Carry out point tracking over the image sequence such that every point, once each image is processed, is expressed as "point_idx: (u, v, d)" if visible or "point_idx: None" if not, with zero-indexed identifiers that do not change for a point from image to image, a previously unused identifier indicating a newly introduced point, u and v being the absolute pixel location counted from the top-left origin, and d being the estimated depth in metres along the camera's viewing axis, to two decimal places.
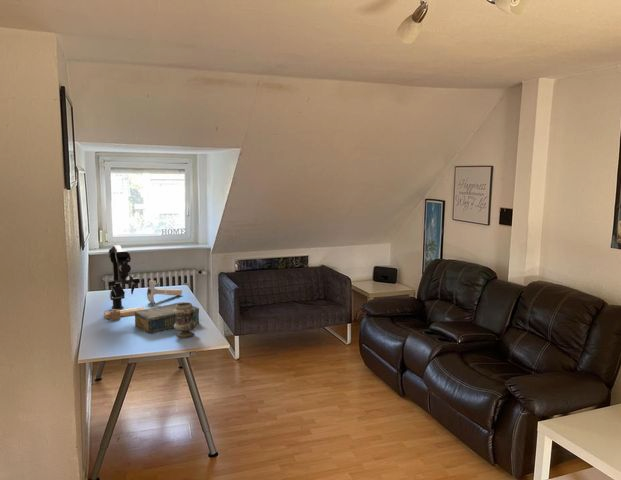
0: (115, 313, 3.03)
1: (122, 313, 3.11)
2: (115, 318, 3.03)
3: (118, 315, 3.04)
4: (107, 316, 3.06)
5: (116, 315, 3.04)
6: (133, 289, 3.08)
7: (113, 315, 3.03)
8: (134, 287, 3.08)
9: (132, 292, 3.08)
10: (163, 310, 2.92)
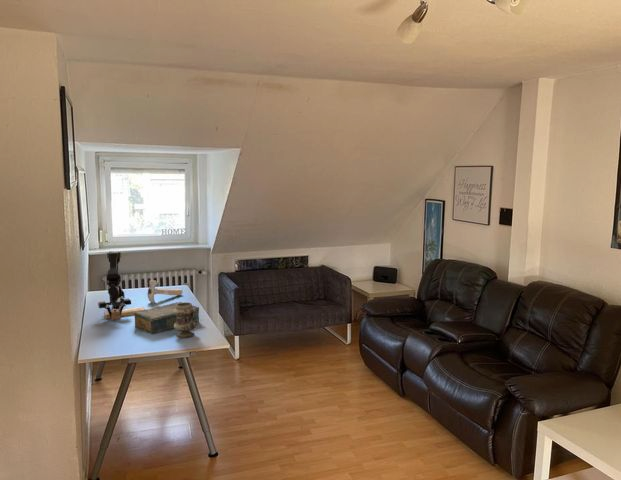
0: (115, 313, 3.03)
1: (122, 313, 3.11)
2: (115, 318, 3.03)
3: (118, 315, 3.04)
4: (107, 316, 3.06)
5: (116, 315, 3.04)
6: (121, 311, 3.06)
7: (113, 315, 3.03)
8: (122, 309, 3.06)
9: (120, 314, 3.06)
10: (163, 310, 2.92)
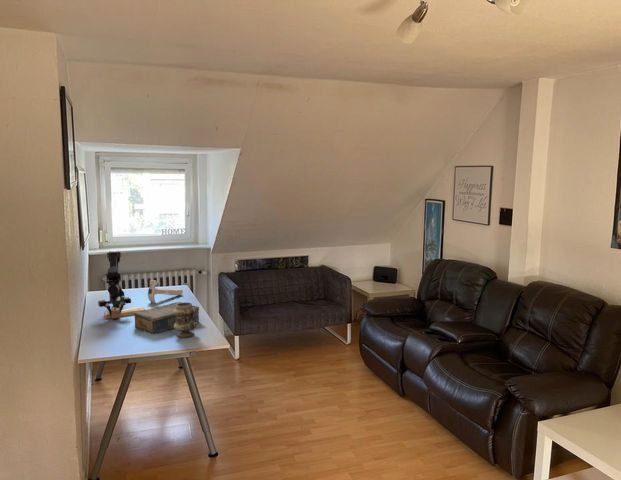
0: (115, 311, 3.03)
1: (122, 313, 3.11)
2: (115, 316, 3.03)
3: (118, 313, 3.04)
4: (107, 316, 3.06)
5: (116, 313, 3.03)
6: (121, 309, 3.06)
7: (113, 313, 3.03)
8: (122, 307, 3.06)
9: (120, 312, 3.06)
10: (163, 310, 2.91)
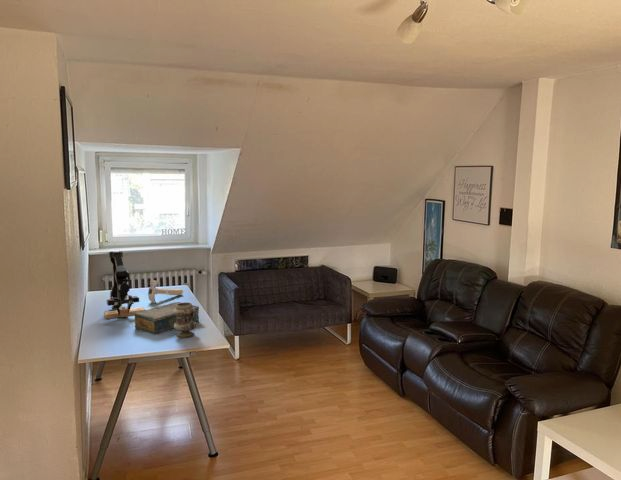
0: (123, 310, 3.06)
1: None
2: (123, 315, 3.06)
3: (126, 312, 3.07)
4: (107, 316, 3.06)
5: (124, 312, 3.06)
6: (129, 308, 3.09)
7: (121, 312, 3.05)
8: (130, 306, 3.09)
9: (128, 311, 3.09)
10: (163, 310, 2.91)
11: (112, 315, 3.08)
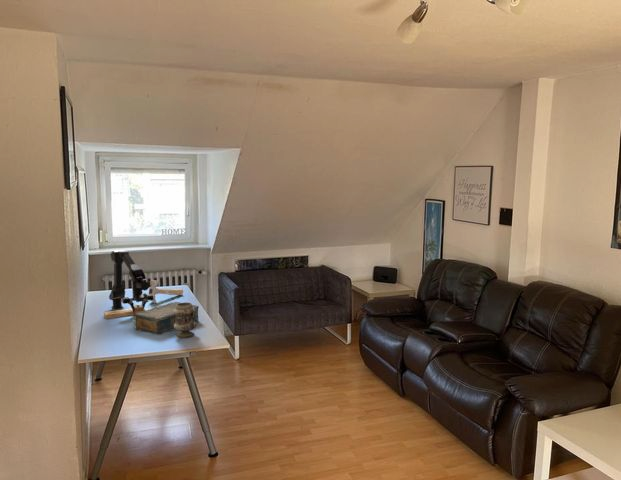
0: (138, 308, 3.10)
1: (122, 313, 3.11)
2: None
3: (141, 310, 3.11)
4: (107, 316, 3.06)
5: (139, 310, 3.11)
6: (144, 306, 3.13)
7: (136, 310, 3.10)
8: None
9: (143, 309, 3.14)
10: (163, 310, 2.91)
11: (112, 315, 3.08)
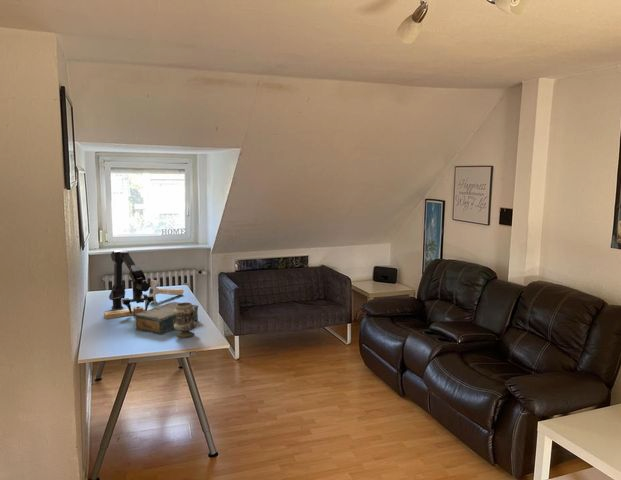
0: (138, 310, 3.10)
1: (122, 313, 3.11)
2: None
3: None
4: (107, 316, 3.06)
5: (139, 312, 3.11)
6: (147, 307, 3.14)
7: (136, 312, 3.10)
8: None
9: (146, 310, 3.15)
10: (163, 310, 2.91)
11: (112, 315, 3.08)
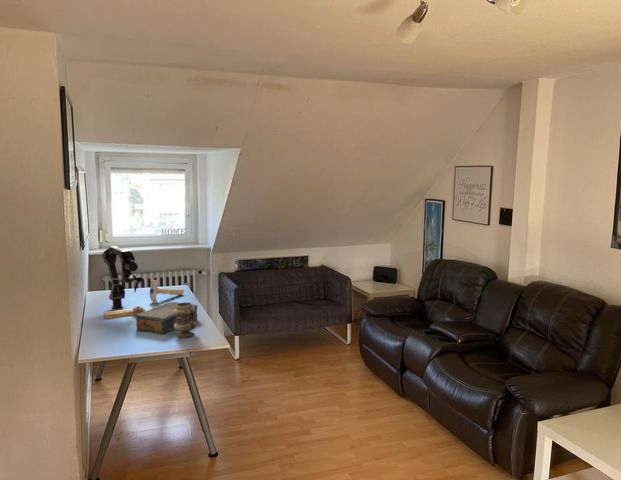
0: (138, 310, 3.10)
1: (122, 313, 3.11)
2: None
3: None
4: (107, 316, 3.06)
5: (139, 312, 3.11)
6: (136, 287, 3.20)
7: (136, 312, 3.10)
8: (137, 285, 3.20)
9: (135, 290, 3.20)
10: (163, 311, 2.91)
11: (112, 315, 3.08)
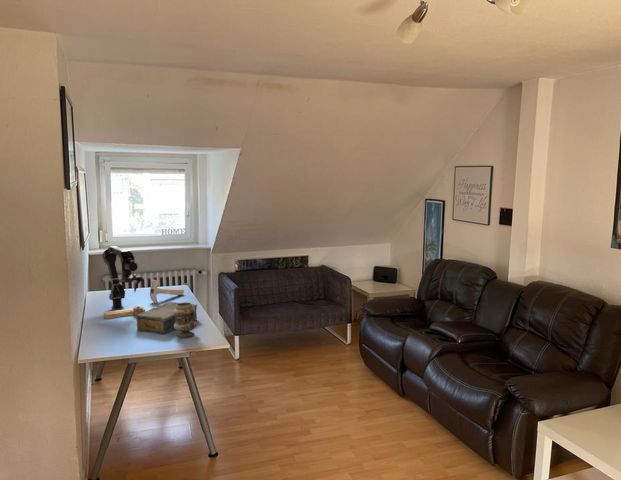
0: (138, 310, 3.10)
1: (122, 313, 3.11)
2: None
3: (141, 312, 3.12)
4: (107, 316, 3.06)
5: (139, 312, 3.11)
6: (136, 287, 3.20)
7: (136, 312, 3.10)
8: None
9: (135, 290, 3.20)
10: (163, 311, 2.90)
11: (112, 315, 3.08)
